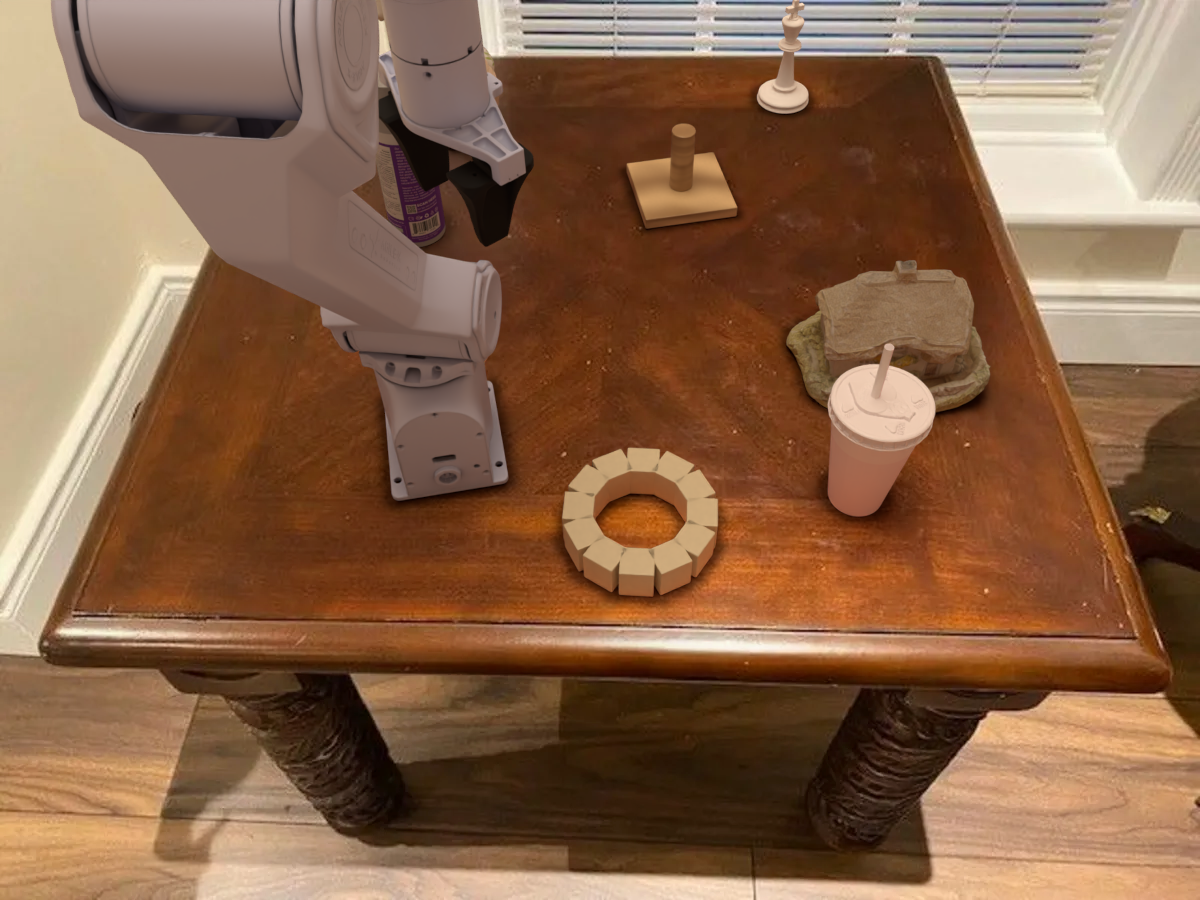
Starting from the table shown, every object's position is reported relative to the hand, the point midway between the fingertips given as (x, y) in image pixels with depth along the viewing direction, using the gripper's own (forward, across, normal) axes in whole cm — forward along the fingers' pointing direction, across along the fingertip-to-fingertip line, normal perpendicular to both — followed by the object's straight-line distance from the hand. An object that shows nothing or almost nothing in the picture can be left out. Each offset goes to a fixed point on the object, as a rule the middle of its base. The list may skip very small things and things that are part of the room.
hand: (463, 210), depth 74 cm
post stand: (+10, 0, -22) cm, 24 cm away
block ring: (+9, -25, +4) cm, 26 cm away
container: (+10, +11, -1) cm, 15 cm away
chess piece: (+11, +5, -39) cm, 41 cm away
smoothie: (+9, -32, -9) cm, 34 cm away
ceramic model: (+10, -25, -20) cm, 33 cm away
